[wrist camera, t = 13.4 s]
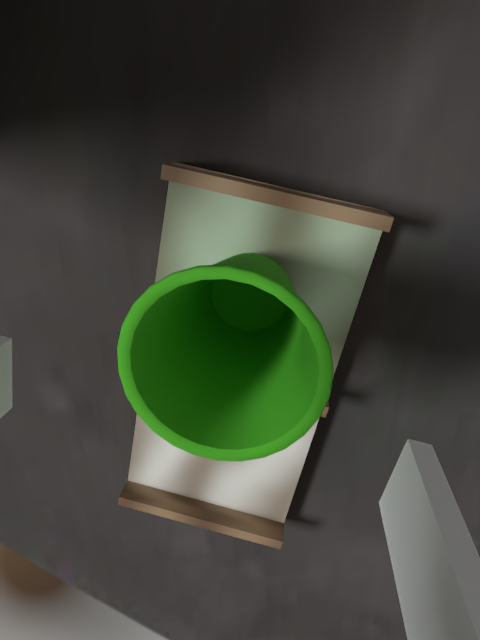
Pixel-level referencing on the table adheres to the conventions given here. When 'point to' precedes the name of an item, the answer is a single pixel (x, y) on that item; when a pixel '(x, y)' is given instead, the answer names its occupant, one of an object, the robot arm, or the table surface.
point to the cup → (226, 360)
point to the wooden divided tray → (310, 285)
